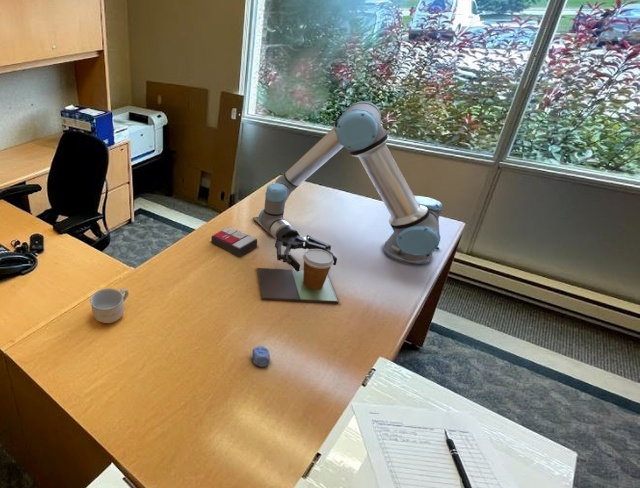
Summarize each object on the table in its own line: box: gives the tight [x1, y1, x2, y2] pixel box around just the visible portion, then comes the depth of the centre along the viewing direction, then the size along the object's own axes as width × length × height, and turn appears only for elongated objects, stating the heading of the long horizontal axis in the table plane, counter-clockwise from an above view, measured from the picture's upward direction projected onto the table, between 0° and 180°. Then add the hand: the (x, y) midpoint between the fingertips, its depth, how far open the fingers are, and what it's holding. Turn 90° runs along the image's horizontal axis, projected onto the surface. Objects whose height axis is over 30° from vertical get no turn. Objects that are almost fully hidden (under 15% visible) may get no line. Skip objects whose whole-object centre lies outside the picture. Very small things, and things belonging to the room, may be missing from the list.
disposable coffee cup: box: [302, 249, 334, 290], centre depth 141 cm, size 10×10×12 cm
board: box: [256, 267, 339, 305], centre depth 145 cm, size 24×17×1 cm
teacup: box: [89, 288, 130, 324], centre depth 137 cm, size 14×11×8 cm
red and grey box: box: [211, 226, 258, 257], centre depth 170 cm, size 11×4×15 cm
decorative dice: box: [251, 345, 271, 368], centre depth 117 cm, size 4×4×4 cm
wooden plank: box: [252, 216, 274, 237], centre depth 181 cm, size 17×1×5 cm
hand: (317, 265), depth 140 cm, fingers open, 13 cm apart
